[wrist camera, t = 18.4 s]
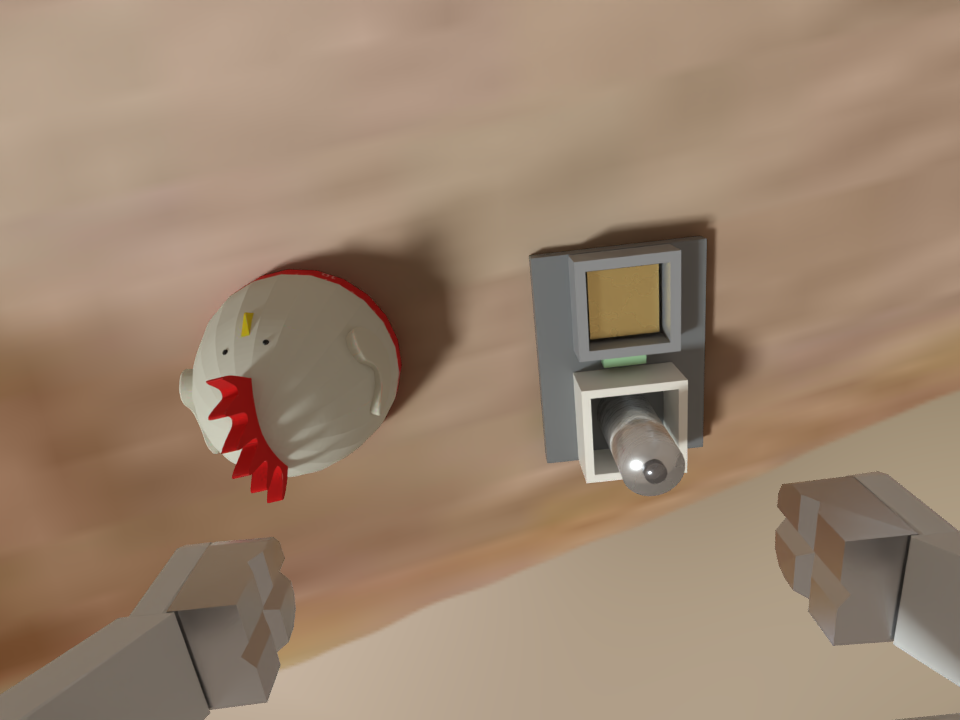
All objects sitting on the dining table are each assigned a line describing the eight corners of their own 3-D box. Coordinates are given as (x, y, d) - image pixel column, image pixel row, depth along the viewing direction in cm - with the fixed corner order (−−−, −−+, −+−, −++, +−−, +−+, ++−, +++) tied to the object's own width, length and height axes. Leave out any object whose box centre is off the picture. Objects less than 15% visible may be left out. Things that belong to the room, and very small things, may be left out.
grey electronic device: (700, 235, 42) (727, 247, 38) (697, 439, 48) (720, 470, 43) (528, 255, 43) (535, 269, 38) (545, 455, 48) (553, 487, 44)
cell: (649, 385, 45) (688, 442, 37) (650, 433, 46) (688, 497, 38) (595, 391, 45) (622, 449, 37) (598, 439, 46) (624, 504, 38)
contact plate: (655, 262, 41) (658, 263, 41) (656, 329, 43) (659, 331, 42) (585, 270, 41) (586, 271, 41) (588, 336, 43) (590, 339, 42)
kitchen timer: (369, 248, 42) (320, 305, 28) (423, 421, 47) (403, 543, 33) (182, 295, 43) (44, 373, 29) (253, 460, 48) (163, 596, 34)
